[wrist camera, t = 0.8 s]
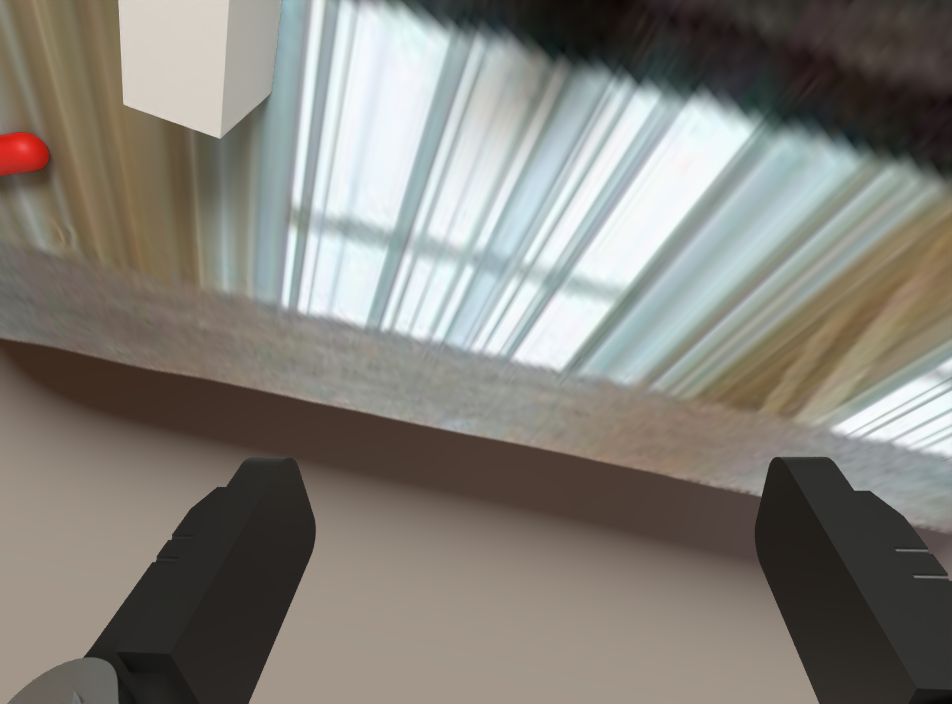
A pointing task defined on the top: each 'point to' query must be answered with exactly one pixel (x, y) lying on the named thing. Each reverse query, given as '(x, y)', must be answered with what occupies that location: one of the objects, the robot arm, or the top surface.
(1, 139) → the toy gun
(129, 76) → the block
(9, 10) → the top surface
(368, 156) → the top surface
